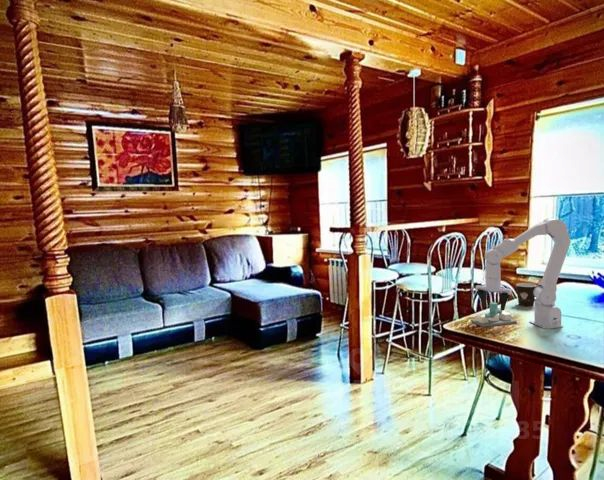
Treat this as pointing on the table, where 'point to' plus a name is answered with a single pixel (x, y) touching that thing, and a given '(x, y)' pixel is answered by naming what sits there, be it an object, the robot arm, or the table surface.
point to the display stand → (493, 320)
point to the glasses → (493, 310)
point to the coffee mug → (526, 294)
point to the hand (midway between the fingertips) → (493, 308)
